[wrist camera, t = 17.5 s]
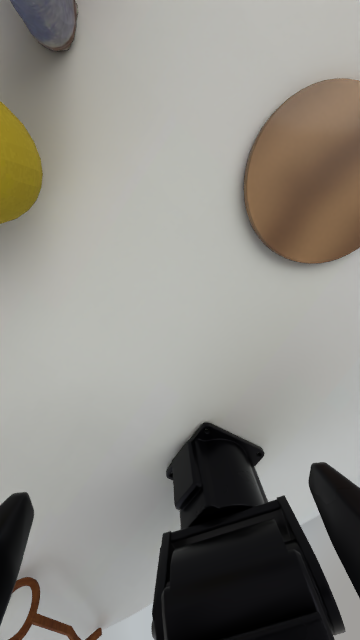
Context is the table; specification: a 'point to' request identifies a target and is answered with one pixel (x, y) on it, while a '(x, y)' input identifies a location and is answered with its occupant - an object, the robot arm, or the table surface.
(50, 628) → the glasses
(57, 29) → the flask
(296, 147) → the wooden coaster
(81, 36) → the table surface
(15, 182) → the lemon
